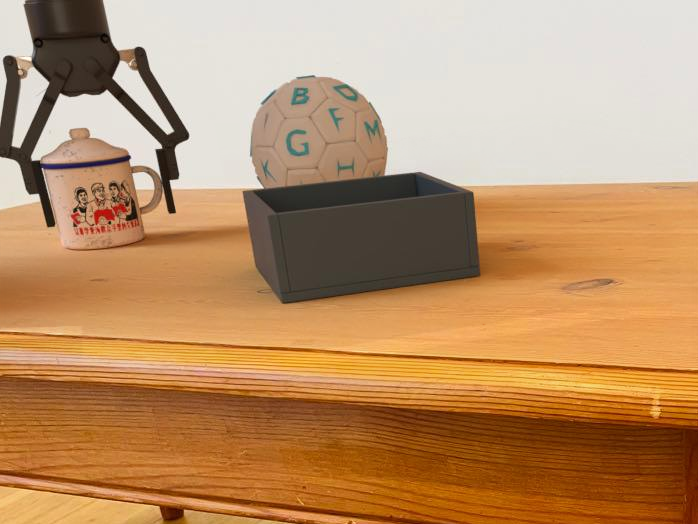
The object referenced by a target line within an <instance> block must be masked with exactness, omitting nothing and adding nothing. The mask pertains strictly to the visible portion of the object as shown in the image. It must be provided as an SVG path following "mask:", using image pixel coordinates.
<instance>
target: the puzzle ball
mask: <svg viewBox="0 0 698 524" xmlns="http://www.w3.org/2000/svg"><path fill="white" fill-rule="evenodd" d="M294 77H295V76H294ZM260 105H261V106H260V107H259V108H258V110H257V112H256V113H255V117H254V119H253V121H252V125H251V128H250V129H251V131H250V132H251V133H250V149H249V157H251V163H252V165H253V167H254V173H255V175H256V179H257V181H258V182H259V183H260V185H261V186H262V187H263V189H265V188H274V187H284V186H293V185H302V184H311V183H321V182H330V181H339V180H348V179H358V178H367V177H376V176H385V175H386V167H387V164H388V163H387V161H388V151H389V147H388V138H387V135H386V134H385V133H386V132H385V128H384V126H383V124H382V123H383V122H382V120H381V117H380V115H379V114H378V112H377V111H376V109H375V108H374V106H373V104H372V103H371V101H368V99H367V98H366V97H365V95H363V94H362V93H360V92H359V91H358V89H356V88H354V87H353V86H350V84H347V83H345V82H343V81H341V80H339V79H336V78H333V77H330V76H316V75H314V74H312V75H303V76H296V77H295V78H294V79H291V80H290V81H289V82H285V83H283V84H281V85H280V86H279V87H278V88H276V89H273V91H271V92H270V93H269V94H268V95H267V96H266V97H265V98H264V99H263V100H262V101H261V103H260Z"/></svg>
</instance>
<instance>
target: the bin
mask: <svg viewBox="0 0 698 524" xmlns="http://www.w3.org/2000/svg"><path fill="white" fill-rule="evenodd" d="M474 194H475V193H474V191H471V190H469V189H467V188H464V187H462V186H458V185H456V184H454V183H451V182H448V181H446V180H444V179H440V178H438V177H435V176H432V175H430V174H428V173H426V172H425V173H424V172H422V171H415V172H406V173H405V172H404V173H395V174H385V176H376V177H367V178H358V179H348V180H339V181H330V182H321V183H311V184H302V185H293V186H284V187H274V188H265V189H264V188H257V189H249V190H248V189H247V190H242V196H243V203H244V209H245V214H246V220H247V226H248V233H249V237H250V242H251V248H252V254H253V258H254V259H253V260H254V265H255V268H256V269H257V271H258V273H259V274H260V275H261V276H262V277H263V279H264V280H265V282H266V283H267V285H269V287H270V289H271V290H272V292H273V293H274V294H275V295H276V296H277V298H278V299H279V301H280V302H281V303H282V304H289V303H295V302H303V301H309V300H316V299H317V300H318V299H325V298H331V297H338V296H345V295H353V294H359V293H367V292H374V291H381V290H388V289H396V288H403V287H409V286H417V285H418V286H419V285H425V284H430V283H431V284H433V283H438V282H447V281H452V280H453V281H454V280H460V279H466V278H467V279H468V278H474V277H480V276H481V267H480V255H479V252H480V251H479V242H478V230H477V218H476V208H475V195H474Z"/></svg>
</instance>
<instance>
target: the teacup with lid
mask: <svg viewBox="0 0 698 524" xmlns="http://www.w3.org/2000/svg"><path fill="white" fill-rule="evenodd" d="M90 132H91V131H90V130H89V129H88V128H87V127H76V128H70V129H69V131H68V135H69V137H70V139H68V140H64V141H63V142H61V143H60V144H59V145H58V146H57V147H56V148H55V149H54V150H52V151H51V152H49V153H47V154H45V155H43V156H41V157H40V159H39V160H40V163H41V164H40V167H41V168H42V171H43V175H44V179H45V183H46V187H47V191H48V195H49V199H50V203H51V207H52V211H53V215H54V219H55V223H56V226H57V230H58V234H59V238H60V242H61V245H62V246H63V248H66V249H69V250H77V251H78V250H82V251H83V250H84V251H85V250H99V249H108V248H115V247H121V246H126V245H130V244H133V243H138V242H139V241H141V240H143V239H144V238H145V236H146V231H145V225H144V222H143V217H142V215H146V214H149V213H151V212H153V211H155V209H156V208H158V206H159V205H160V203H161V200H162V198H163V194H164V190H163V185H162V180H161V176H160V174H158V172H157V171H156V170H155V169H153V168H151V167H149V166H146V165H131V161H130V160H132V156H131V154H130V152H129V151H128V150H127V148H123V147H120V146H115V145H113V144H110V143H108V142H107V141H105V140H103V139H101V138H97V137H91V133H90ZM137 173H145V174H147V175H149V176H150V178H151V179H152V182H153V189H154V191H153V194H152V198H151V199H150V201H149V203H147V204H146V205H144V206H140V203H139V198H138V194H137V189H136V184H135V180H134V175H133V174H137Z"/></svg>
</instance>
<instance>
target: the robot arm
mask: <svg viewBox="0 0 698 524" xmlns="http://www.w3.org/2000/svg"><path fill="white" fill-rule="evenodd" d="M22 5H23V9H24V13H25V18H26V20H27V21H26V22H27V26H28V29H29V34H30V39H31V42H32V54H31V55H30V56H29V55H28V56H27V55H26V56H14V55H12V54H9V55H5V56H4V57H3V58H2V66H3V70H4V74H5V78H6V84H5V89H4V96H3V103H2V108H1V109H2V110H1V115H0V158H3V159H9V160H13V161H15V162H16V163H17V165H19V168H20V172H21V177H22V180H23V183H24V187H25V191H26V192H27V194H28V195H30V196H31V195H38V197H39V200H40V204H41V208H42V212H43V217H44V220H45V224H46V228H55V227H56V225H57V222H56V218H55V214H54V210H53V206H52V202H51V198H50V194H49V190H48V186H47V182H46V178H45V174H44V170H43V168H41V167H40V164H41V162H40V160H41V159H35V160H33V159H32V155H33V154H34V151H35V149H36V147H37V145H38V143H39V140H40V138H41V136H42V134H43V132H44V129H45V127H46V125H47V123H48V121H49V118H50V116H51V114H52V112H53V110H54V108H55V105H56V104H57V101H58V99H59V97H60V95H62V96H65V97H67V98H77V97H80V96H82V95H87V96H88V95H89V96H101V95H103V94H104V93H105V92H109V93H110V94H111V96H112V97H113V98H114V99H116V100H117V101H118V103H119V104H120V105H122V106H123V107H124V109H125V110H126V111H127V112H128V113H129V114H130V115H131V116H132V117H133V118H134V119H135V120H136V121H137V122H138V123H139V124H140V125H141V127H143V128H144V129H145V130H146V131H147V132H148V133H149V134H150V135H151V136H152V137H153V138H154V139H155V140H156V141H157V142H158V143H159V144H160V145H161V148H155V149H154V151H155V156H156V161H157V165H158V170H159V176H160V178H161V181H162V186H163V194H164V199H165V200H164V201H165V204H166V209H167V212H168V215H172V214H177V210H176V205H175V200H174V195H173V190H172V185H171V181H176V180H179V178H180V170H179V165H178V159H177V155H176V148H177V146H178V145H180V144H183V142H186V141H188V140H189V139H190V132H189V131H188V129H187V128H186V125H185V124H184V122H183V121H182V119H181V118H180V116H179V114H178V113H177V111H176V110H175V108H174V106H173V104H172V103H171V101H170V99H169V98H168V96H167V95H166V93H165V91H164V90H163V88H162V87H161V85H160V83H159V82H158V80H157V79H156V77H155V75H154V73H153V71H152V70H151V67H150V63H149V59H148V55H147V51H146V49H145V48H144V47H142V46H135V47H134V48H128V49H119V50H118V49H117V48H116V46H115V45H114V43H113V40H112V36H111V31H110V27H109V22H108V17H107V13H106V8H105V3H104V0H24V3H23V4H22ZM120 62H125V63H126V64H127V66H128V67H129V69H130V70H132V71H135V72H136V71H137V72H138V75H139V76H140V78H141V81H142V82H143V84H144V85H145V87H146V89H147V90H148V91H149V93H150V95H151V96H152V98H153V99H154V101H155V103H156V104H157V106H158V108H159V109H160V111H161V112H162V114H163V116H164V117H165V119H166V121H167V123H168V124H169V125H170V127H171V129H172V132H169V133H166V132H165V131H164V130H163V128H161V126H159V124H157V122H156V121H155V120H154V119H153V118H152V117H151V116H150V115H149V114H148V113H147V112H146V111H145V110H144V109H143V108H142V107H141V106H140V104H138V103H137V102H136V101H135V100H134V99H133V97H131V96H130V94H128V93H127V91H126V90H124V88H123V87H122V86H121V85H120V84H119V83H118V82H117V81H116V80H115V79H114V76H115V74H116V71H117V69H118V67H119V65H120ZM31 68H34V69H35V70H36V72H38V73H39V75H41V77H43V78H44V79H45V80H46V81H47V82H48V85H47V87H46V89H45V92H44V94H43V95H42V98H41V101H40V102H39V105H38V107H37V109H36V112H35V114H34V115H33V118H32V120H31V123H30V124H29V127H28V130H27V131H26V133H25V136H24V138H23V140H22V142H21V145H20V147H19V146H14V145H13V141H14V136H15V135H14V134H15V127H16V121H17V115H18V109H19V101H20V94H21V89H22V80H24V79H26V78H27V77H28V75H29V70H30V69H31Z"/></svg>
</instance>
